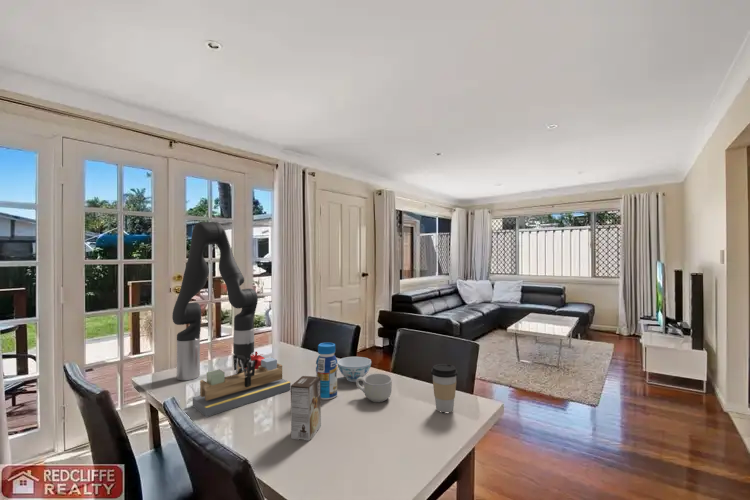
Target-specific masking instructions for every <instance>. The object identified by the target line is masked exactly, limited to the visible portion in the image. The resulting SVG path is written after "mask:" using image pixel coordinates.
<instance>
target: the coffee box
mask: <svg viewBox="0 0 750 500" xmlns="http://www.w3.org/2000/svg"><path fill="white" fill-rule="evenodd" d="M321 400H322V399H321V392H320V377H316V376H309V375H302V376H301V377H299V378H298V379H297V380H296V381H295V382H294V383H292V384H290V438H291V440H299V439H304V440H303V441H309V440H310V439H311V438H312V439H313V438H314V436H315V435H316V433H317V432H318V431H319V429H320V428H321V426H322V416H321V414H322V411H321V409H322V408H321V405H322V404H321V403H322V401H321ZM317 430H318V431H317ZM314 434H315V435H314ZM312 439H311V440H312ZM311 440H310V441H311Z"/></svg>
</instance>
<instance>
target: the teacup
mask: <svg viewBox="0 0 750 500" xmlns="http://www.w3.org/2000/svg"><path fill="white" fill-rule="evenodd" d="M359 380H360V381H362V384H363V386H362V385H360V381H359ZM392 382H393V378H392V377H391V376H390V375H389V374H386V373H370V374H368V375H367V374H366V375H365V376H364V377H359V378H358V379H357V380H356V382H355V384H356V387H357V388H358V389H359V390H361V391H362V392H363V394H364V395H365V397H366V398H367V399H368V400H369V401H371V402H373V403H383V402H385V401H387V399H389V398H390V397H391V395H392V386H393V385H392Z"/></svg>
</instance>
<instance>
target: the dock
mask: <svg viewBox="0 0 750 500" xmlns="http://www.w3.org/2000/svg"><path fill="white" fill-rule="evenodd" d="M288 391H291V381H287V380H286V379H283V378H282V379H281V380H277V381H274V382H270V383H267V384H263V385H260V386H256V387H253V388H249V389H246V390H242V391H239V392H235V393H232V394H228V395H225V396H221V397H218V398H214V399H211V400H207V401H206V400H205V396H204V397H201V396H200V395H196V396H193V397H192V407H194V408H195V409H196V410H197V411H198V412H200V413H201V414H202V416H204V417H205V418H207V417H211V416H213V415H214V416H215V415H216V414H219V413H222V412H227V411H229V410H233V409H236V408H239V407H242V406H245V405H248V404H251V403H255V402H258V401H261V400H264V399H267V398H270V397H273V396H275V395H276V396H277V395H281V394H282V393H285V392H288Z"/></svg>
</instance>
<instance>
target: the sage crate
mask: <svg viewBox="0 0 750 500" xmlns="http://www.w3.org/2000/svg"><path fill="white" fill-rule="evenodd" d="M225 374H226V373H225V371H223V370H221V369H215V370H211V371H207V372H206V382H207V383H209V384H210V385H215V384H219V383H223V382H225V377H226V376H225Z"/></svg>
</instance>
